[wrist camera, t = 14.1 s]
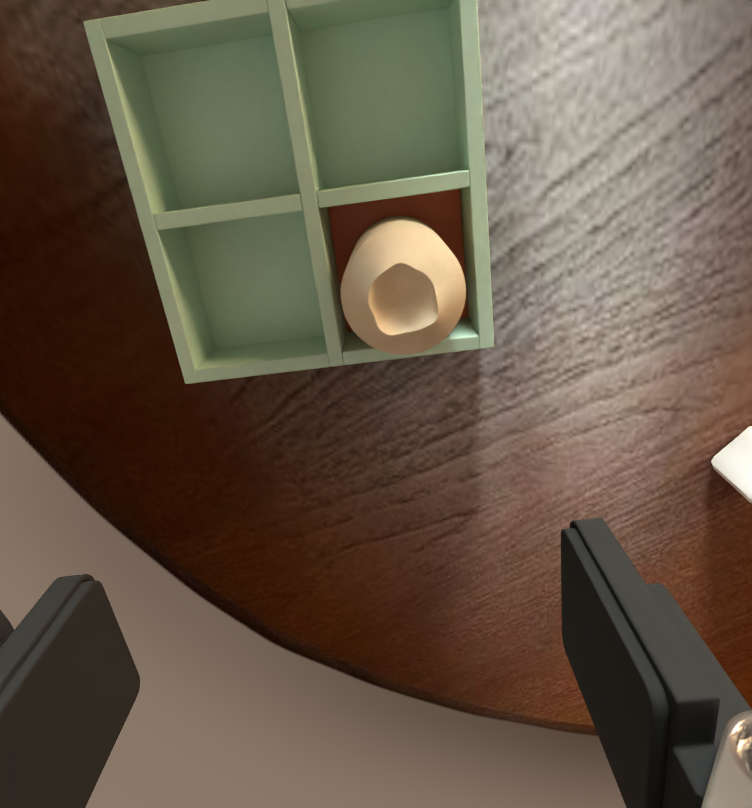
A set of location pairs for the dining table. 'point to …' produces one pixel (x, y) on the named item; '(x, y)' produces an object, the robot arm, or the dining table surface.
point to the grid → (294, 165)
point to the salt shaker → (737, 463)
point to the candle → (402, 287)
